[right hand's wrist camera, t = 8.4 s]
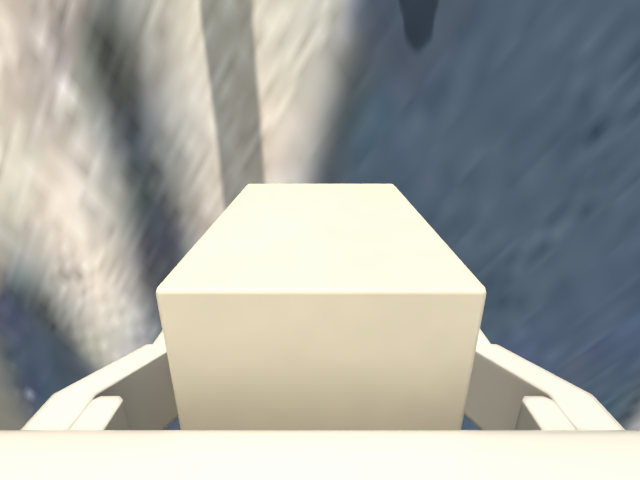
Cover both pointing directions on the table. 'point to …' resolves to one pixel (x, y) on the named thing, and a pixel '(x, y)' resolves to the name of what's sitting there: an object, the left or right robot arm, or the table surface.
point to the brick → (320, 315)
